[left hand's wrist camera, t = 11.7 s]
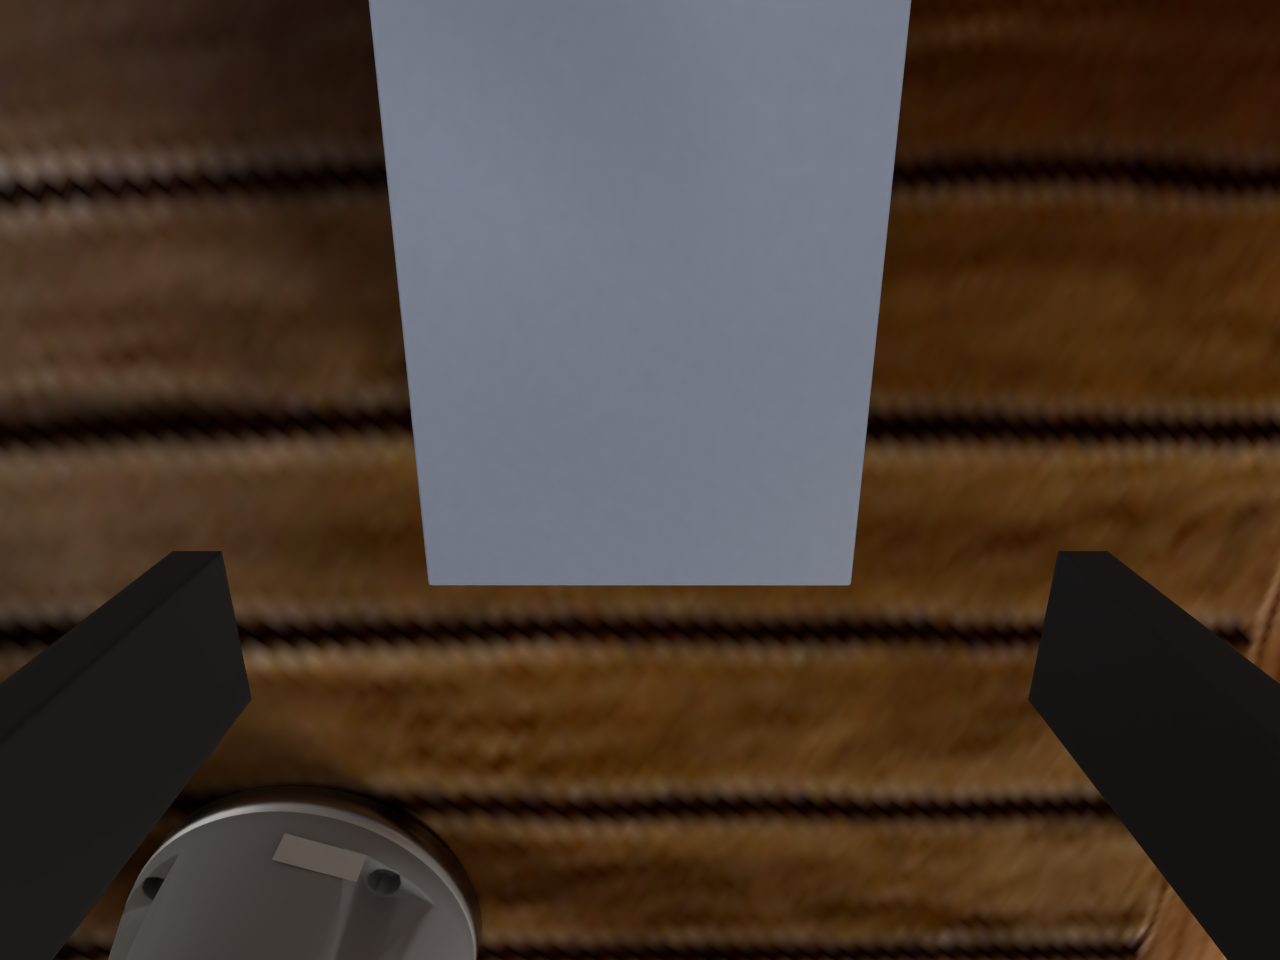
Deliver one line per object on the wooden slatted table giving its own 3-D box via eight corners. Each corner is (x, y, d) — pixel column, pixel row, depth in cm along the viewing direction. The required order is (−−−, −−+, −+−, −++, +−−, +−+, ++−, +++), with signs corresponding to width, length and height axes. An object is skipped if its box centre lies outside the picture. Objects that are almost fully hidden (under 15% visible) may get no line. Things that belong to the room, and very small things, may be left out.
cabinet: (439, -265, 22) (309, -561, 13) (841, -265, 22) (970, -560, 13) (490, 471, 29) (427, 586, 20) (789, 471, 29) (851, 586, 20)
